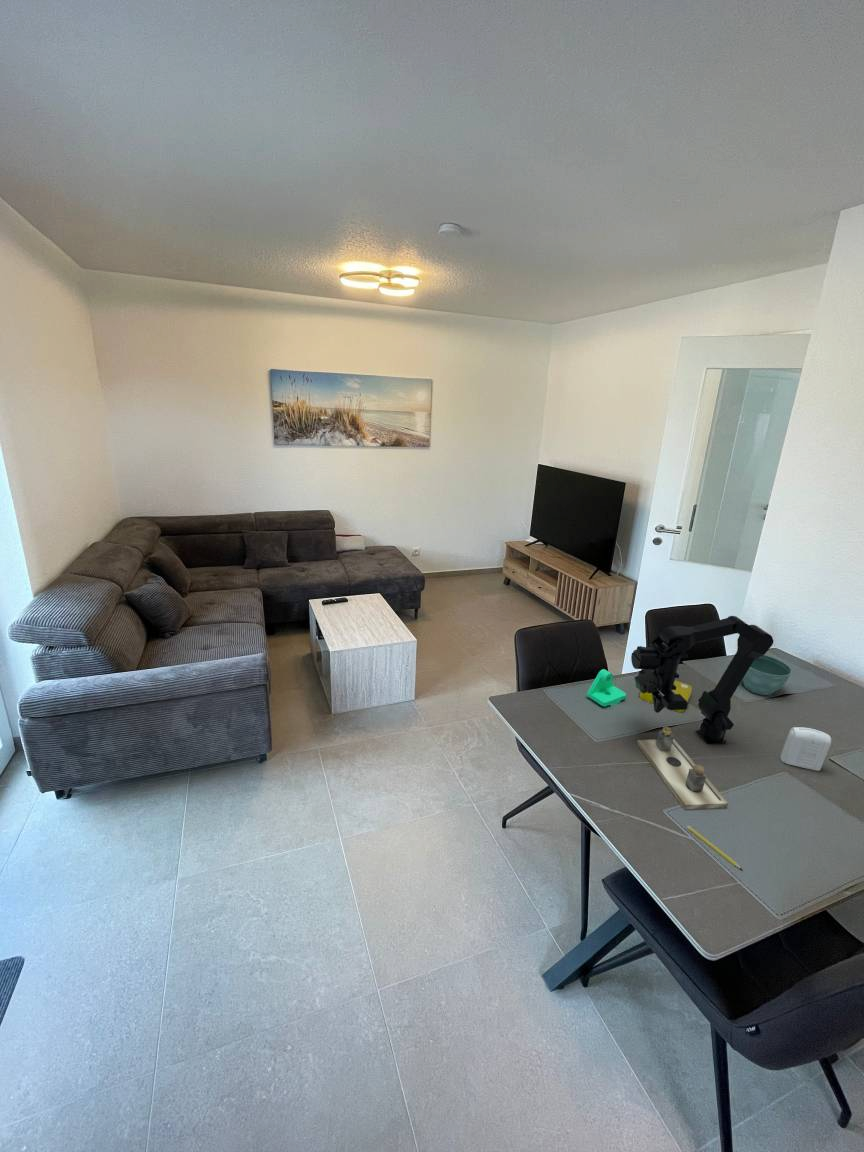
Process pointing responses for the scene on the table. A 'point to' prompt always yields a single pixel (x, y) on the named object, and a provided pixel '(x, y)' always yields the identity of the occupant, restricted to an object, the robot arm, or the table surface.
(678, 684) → the element tile
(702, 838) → the pencil
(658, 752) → the bolt plate
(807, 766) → the photo printer
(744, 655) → the robot arm
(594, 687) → the camera mount
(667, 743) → the sliding leg
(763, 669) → the flower pot
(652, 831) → the table surface
